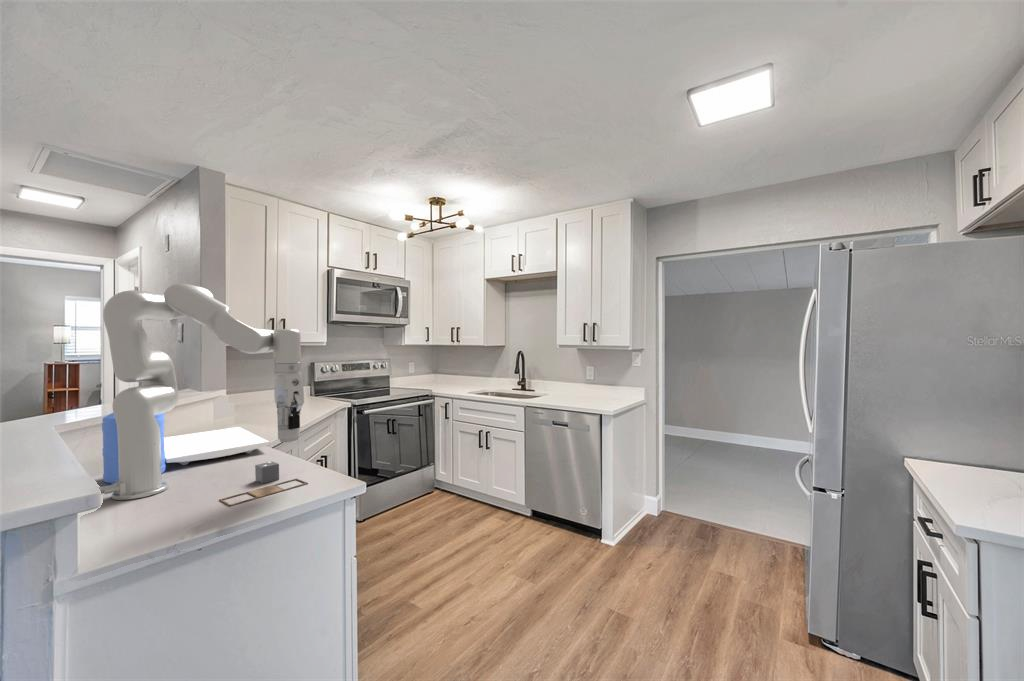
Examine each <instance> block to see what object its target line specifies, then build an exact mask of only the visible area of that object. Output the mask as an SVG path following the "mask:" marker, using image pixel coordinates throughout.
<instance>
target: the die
mask: <svg viewBox="0 0 1024 681" xmlns="http://www.w3.org/2000/svg"><path fill="white" fill-rule="evenodd" d="M254 466H255V467H254V468H255V471H254V475H255V482H258V483H260V484H267V483H270V482H271V483H272V482H274V481H279V480H280V464H279V463H278V462H275V461H267V462H264V463H258V464H255V465H254Z"/></svg>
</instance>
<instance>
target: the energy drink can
mask: <svg viewBox="0 0 1024 681" xmlns="http://www.w3.org/2000/svg"><path fill="white" fill-rule="evenodd" d="M292 405H296V403H292ZM293 409H294V408H292V411H293ZM276 410H277V411H276V413H277V439H278V440H279V441H280V443H290V442H295V441H298V440H299V438H300V437H301V427H300V428H296V429H291V430H290V429H288V416H290V415H289V410H288V407H287V406H285V404H284V399H283V397H282V396H281V395H280V394H279V395H278V397H277V405H276Z"/></svg>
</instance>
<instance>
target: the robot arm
mask: <svg viewBox="0 0 1024 681" xmlns="http://www.w3.org/2000/svg"><path fill="white" fill-rule="evenodd" d="M102 313H103V314H102V318H103V323H104V327H105V329H106V333H107V337H108V342H109V349H110V356H111V362H112V368H113V373H114V375H115V377H116V379H118V380H119V381H121V382H123V383H138V382H142V385H138V386H132V387H128V388H126V389H124V390H121V391H120V392H119V393H118V394H116V396H115V397H114V398H113V401H112V406H111V407H112V413H114V416H115V420H116V424H117V432H118V462H119V480H116V483H110V484H111V485H104V486H100V487H98V488H99V489H100V491H101V494H100V495H102V494H104V495H108V494H111V498H112V500H116V501H124V500H127V501H128V500H135V499H139V498H140V499H141V498H145V497H149V496H153V495H156V494H160V493H162V492H164V491H166V490H167V489H168V488H169V483H168V482H166V481H162V474H161V437H160V427H159V424H158V422H157V420H156V418H155V415H157V414H162V413H164V414H165V413H168V412H170V411H171V410H173V409H175V407H176V406H177V403H178V401H179V390H178V388H179V387H178V383H177V376H176V371H175V365H174V362H173V360H172V359H171V357H170V356H169V355H168V354H167V353H166V352H164V351H161V350H158V349H150V346H149V341H148V340H149V339H148V335H147V332H146V330H145V329H144V327H143V326H142V324H141V323H140V321H141V320H144V321H156V322H158V321H159V322H160V321H161V322H164V321H171V320H178V319H181V318H189V319H191V320H192V321H194V322H196V323H198V324H199V325H201V326H203V327H205V328H206V329H208V330H209V331H210V332H211V334H212V335H213V336H214V337H216V339H218V340H219V341H221V342H222V343H224V344H226V345H227V346H230V347H232V348H233V349H235V350H238V351H239V352H241V353H244V354H251V355H254V354H267V353H272V354H273V355H272V356H273V360H272V361H273V375H275V376H274V394H273V395H274V403H275V405H276V406H277V397H278V395H279V394H280V395H281V396H282V397H283V399H284V404H285V406H287V407H288V410H289V415H290V416H288V429H290V430H291V429H296V428H300V429H301V420H300V419H301V416H300V415H301V411H302V407H303V405H304V404H305V392H304V391H305V390H304V382H303V381H304V380H303V376H302V348H301V347H302V346H301V344H302V343H301V341H302V340H301V337H302V336H301V332H300V330H299V329H296V328H278V329H268V328H257V327H256V328H253V327H252V326H249V325H247V324H245V323H244V322H242V321H240V320H238V319H236V317H234V316H233V315H231V309H230V307H229V306H228V305H227V304H225V303H223V302H221V301H219V300H218V299H216V298H215V297H214V295H213V293H212V292H211V291H210V290H209V289H207V288H205V287H202V286H199V285H194V284H189V283H175V284H172V285H170V286H168V287H167V288H166V289H165V291H164V293H158V292H151V291H146V290H145V291H144V290H124V291H120V292H118V293H116V294H114V295H113V296H111V297H110V298H109V299H108V300H107V301H106V304H105V305H104V308H103V312H102ZM292 403H296V405H292ZM292 408H294V409H293V411H292Z"/></svg>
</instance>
